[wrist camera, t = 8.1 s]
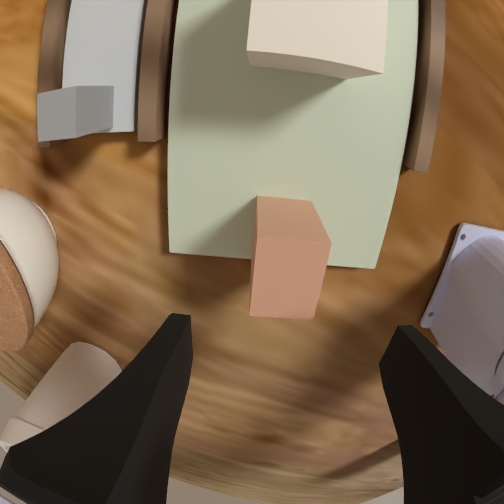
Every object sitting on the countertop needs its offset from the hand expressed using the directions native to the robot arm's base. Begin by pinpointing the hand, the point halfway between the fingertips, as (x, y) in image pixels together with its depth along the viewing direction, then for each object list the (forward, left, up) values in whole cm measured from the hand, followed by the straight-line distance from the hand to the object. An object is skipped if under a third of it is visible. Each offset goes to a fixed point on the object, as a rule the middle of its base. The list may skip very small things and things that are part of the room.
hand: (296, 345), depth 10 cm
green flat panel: (+8, 0, -10) cm, 13 cm away
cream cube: (+12, 0, -9) cm, 15 cm away
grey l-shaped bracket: (+11, +11, -10) cm, 19 cm away
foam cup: (-16, +16, -10) cm, 25 cm away
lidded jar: (-2, +19, -10) cm, 22 cm away
